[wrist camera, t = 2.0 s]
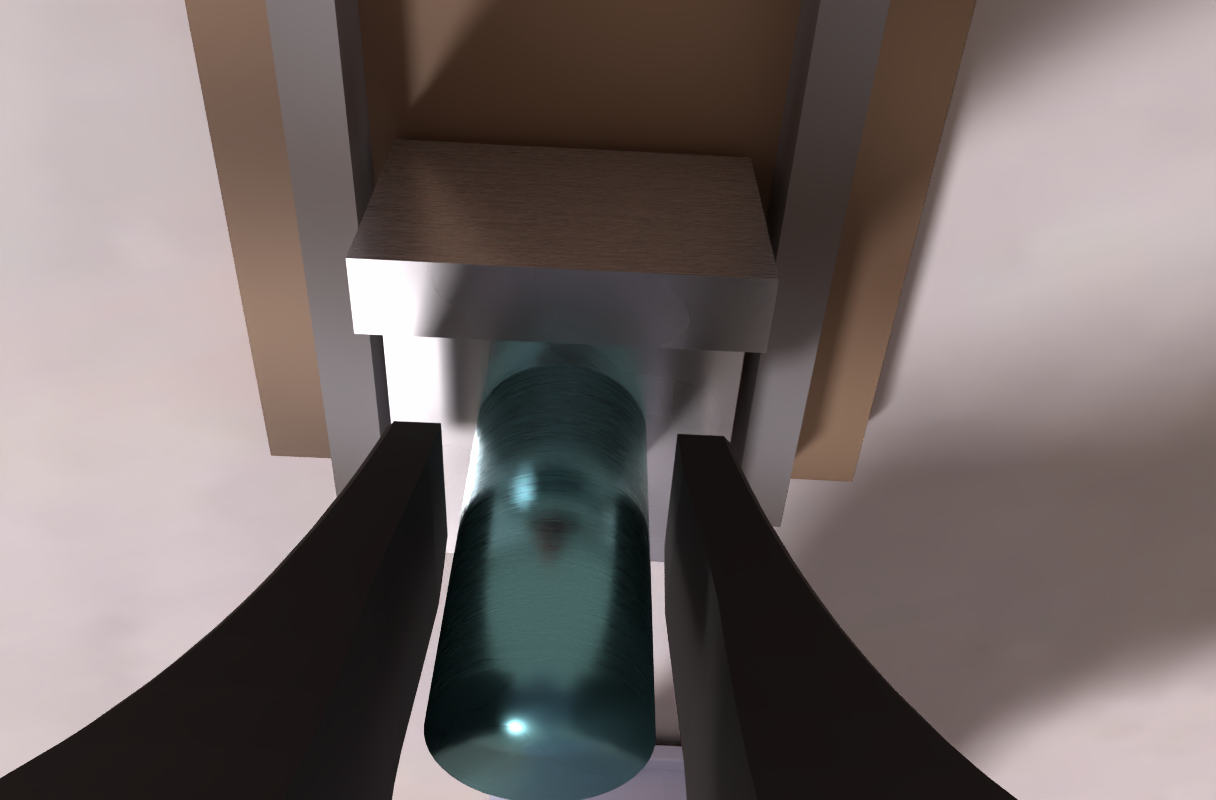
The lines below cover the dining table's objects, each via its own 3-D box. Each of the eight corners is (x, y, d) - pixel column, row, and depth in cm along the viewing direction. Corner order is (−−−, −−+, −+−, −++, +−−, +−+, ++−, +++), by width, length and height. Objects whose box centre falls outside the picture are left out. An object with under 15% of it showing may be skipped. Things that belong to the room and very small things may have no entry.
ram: (703, 486, 18) (739, 872, 12) (421, 473, 18) (333, 857, 12) (751, 157, 14) (830, 501, 9) (395, 138, 14) (254, 474, 9)
